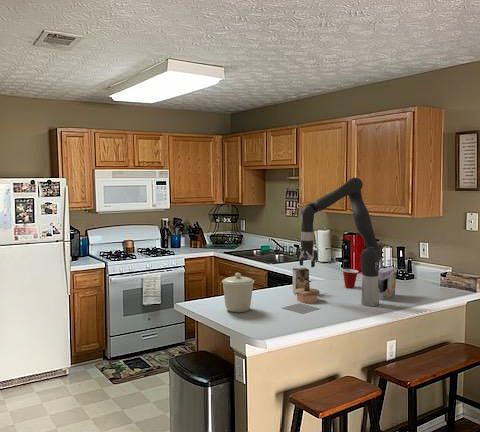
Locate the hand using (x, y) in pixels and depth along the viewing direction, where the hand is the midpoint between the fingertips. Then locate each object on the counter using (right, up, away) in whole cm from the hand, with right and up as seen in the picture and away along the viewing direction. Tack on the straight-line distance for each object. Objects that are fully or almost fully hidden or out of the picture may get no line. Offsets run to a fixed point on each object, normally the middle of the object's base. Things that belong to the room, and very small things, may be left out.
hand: (307, 266), depth 295 cm
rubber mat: (-6, -22, -17) cm, 28 cm away
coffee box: (-1, -20, +20) cm, 28 cm away
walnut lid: (0, -16, +2) cm, 16 cm away
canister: (-41, -23, -20) cm, 51 cm away
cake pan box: (+50, -21, +11) cm, 55 cm away
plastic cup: (+34, -18, +37) cm, 54 cm away
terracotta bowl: (0, -21, +2) cm, 21 cm away
